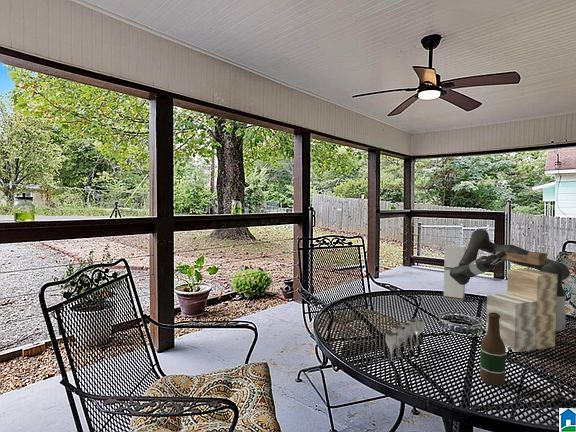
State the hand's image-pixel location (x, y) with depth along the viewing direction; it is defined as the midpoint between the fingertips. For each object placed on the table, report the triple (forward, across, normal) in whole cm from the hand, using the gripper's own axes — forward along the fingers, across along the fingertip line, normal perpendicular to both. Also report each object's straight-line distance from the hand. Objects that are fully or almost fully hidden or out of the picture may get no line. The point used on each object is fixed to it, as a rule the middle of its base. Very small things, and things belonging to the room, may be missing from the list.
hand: (507, 252), depth 171 cm
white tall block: (-70, -24, -5) cm, 74 cm away
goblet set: (-13, +63, -38) cm, 74 cm away
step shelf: (-9, +6, -40) cm, 41 cm away
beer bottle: (+10, +47, -51) cm, 70 cm away
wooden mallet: (+4, 0, -6) cm, 7 cm away
